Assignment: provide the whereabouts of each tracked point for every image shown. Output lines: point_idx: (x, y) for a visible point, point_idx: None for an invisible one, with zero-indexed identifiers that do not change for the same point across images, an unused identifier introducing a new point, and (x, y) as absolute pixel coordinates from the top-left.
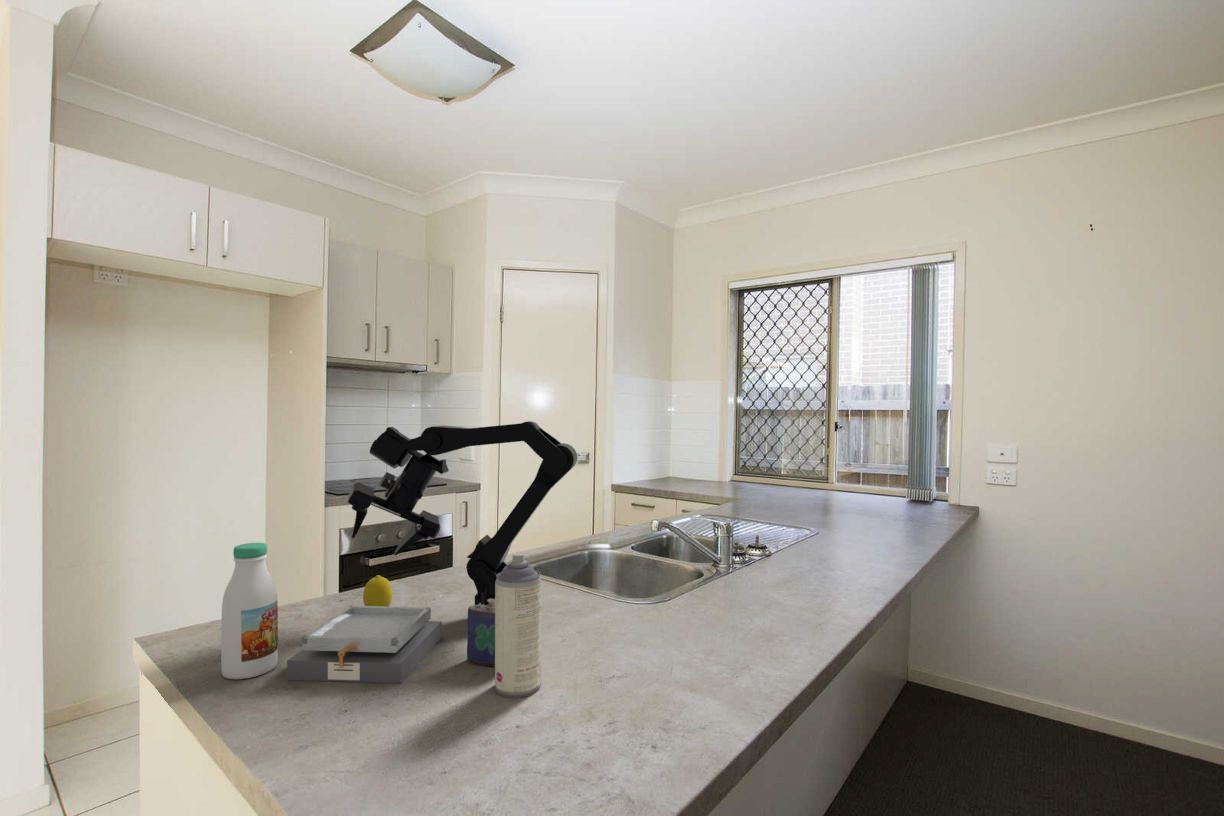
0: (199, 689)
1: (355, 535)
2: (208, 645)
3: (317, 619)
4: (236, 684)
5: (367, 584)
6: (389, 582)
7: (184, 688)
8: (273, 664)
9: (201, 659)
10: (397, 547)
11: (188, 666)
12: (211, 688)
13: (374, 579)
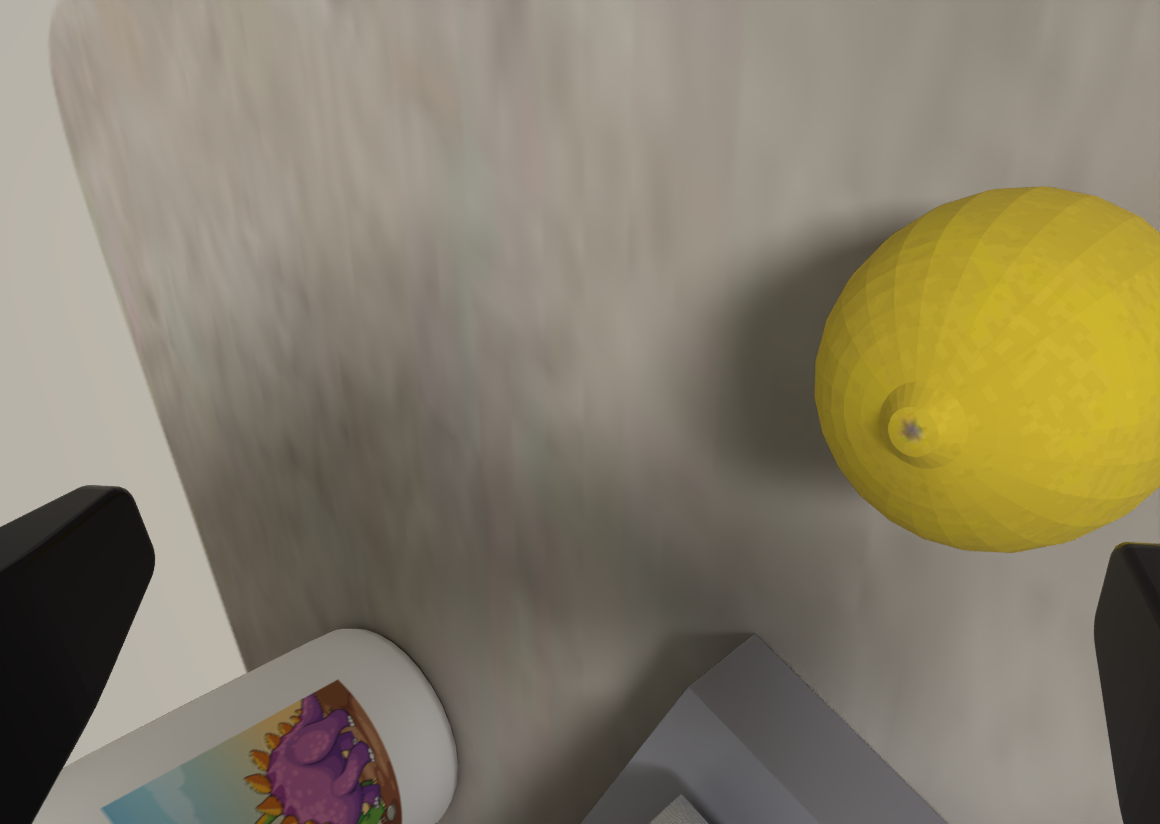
0: None
1: (117, 655)
2: (226, 293)
3: (614, 150)
4: None
5: (818, 410)
6: (1121, 454)
7: None
8: (438, 816)
9: (242, 460)
10: (1153, 661)
11: (226, 506)
12: None
13: (872, 458)
